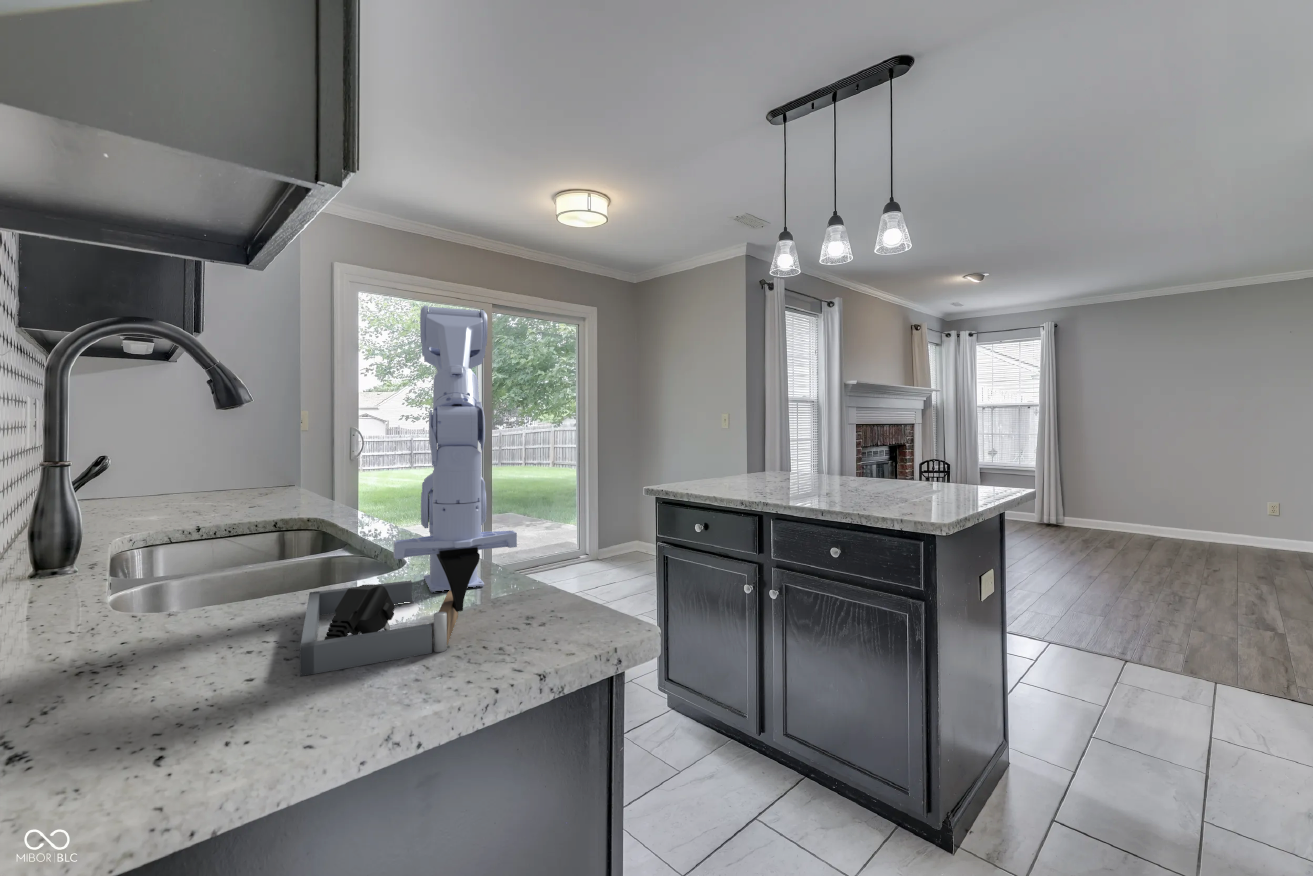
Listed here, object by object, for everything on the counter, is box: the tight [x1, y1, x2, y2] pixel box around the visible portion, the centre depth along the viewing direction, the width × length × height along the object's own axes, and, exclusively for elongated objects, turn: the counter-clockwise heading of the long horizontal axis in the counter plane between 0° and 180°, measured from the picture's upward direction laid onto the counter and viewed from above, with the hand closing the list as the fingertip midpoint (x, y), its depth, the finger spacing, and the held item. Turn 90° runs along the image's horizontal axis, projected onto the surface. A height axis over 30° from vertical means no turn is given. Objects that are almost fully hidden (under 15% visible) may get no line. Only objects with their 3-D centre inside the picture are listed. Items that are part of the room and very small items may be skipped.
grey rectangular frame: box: [299, 580, 448, 677], centre depth 71 cm, size 21×14×4 cm
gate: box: [438, 590, 459, 646], centre depth 72 cm, size 10×1×4 cm, turn 12°
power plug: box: [323, 583, 396, 640], centre depth 67 cm, size 6×8×12 cm
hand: (457, 609), depth 71 cm, fingers closed, pressing on gate
